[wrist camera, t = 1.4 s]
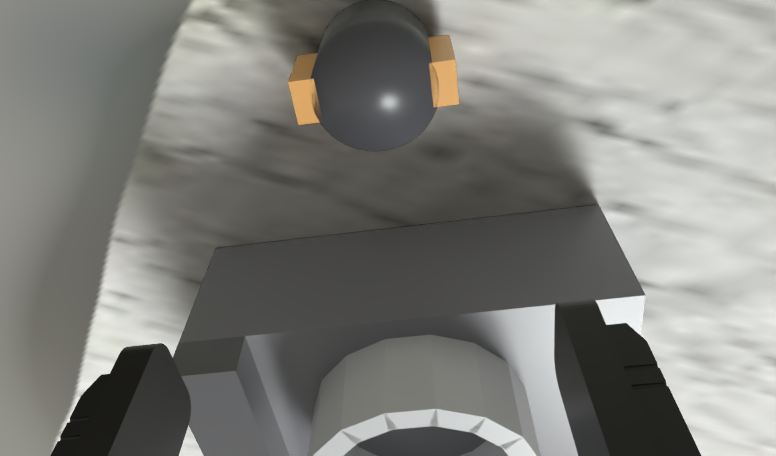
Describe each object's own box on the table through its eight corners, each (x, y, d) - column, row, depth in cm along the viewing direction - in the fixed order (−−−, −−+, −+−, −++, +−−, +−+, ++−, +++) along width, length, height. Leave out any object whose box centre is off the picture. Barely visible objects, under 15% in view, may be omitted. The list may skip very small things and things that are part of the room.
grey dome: (443, -12, 26) (452, 16, 22) (453, 101, 28) (462, 141, 25) (292, 10, 26) (277, 40, 23) (316, 119, 29) (306, 160, 26)
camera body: (598, 204, 31) (682, 368, 22) (588, 368, 38) (650, 545, 29) (215, 248, 33) (149, 417, 24) (270, 398, 40) (235, 574, 31)
